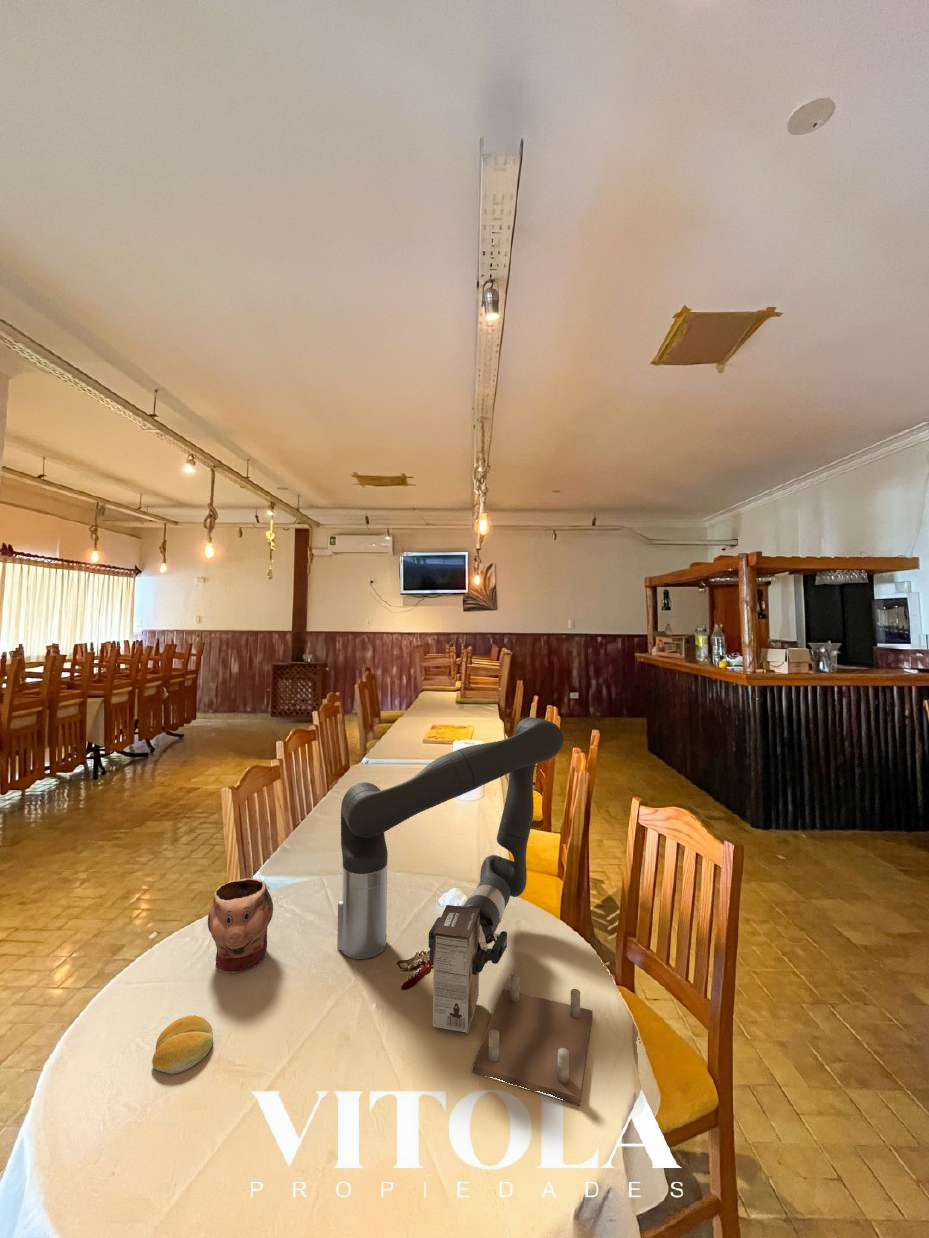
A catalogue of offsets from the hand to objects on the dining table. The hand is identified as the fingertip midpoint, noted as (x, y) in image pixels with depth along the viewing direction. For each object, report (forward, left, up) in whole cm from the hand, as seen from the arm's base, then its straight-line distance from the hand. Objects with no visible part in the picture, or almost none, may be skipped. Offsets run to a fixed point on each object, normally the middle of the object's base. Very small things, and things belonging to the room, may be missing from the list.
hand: (453, 964), depth 91 cm
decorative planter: (-47, +3, -11) cm, 48 cm away
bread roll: (-38, -19, -11) cm, 44 cm away
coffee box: (0, +2, -10) cm, 10 cm away
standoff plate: (+14, +1, -10) cm, 18 cm away
